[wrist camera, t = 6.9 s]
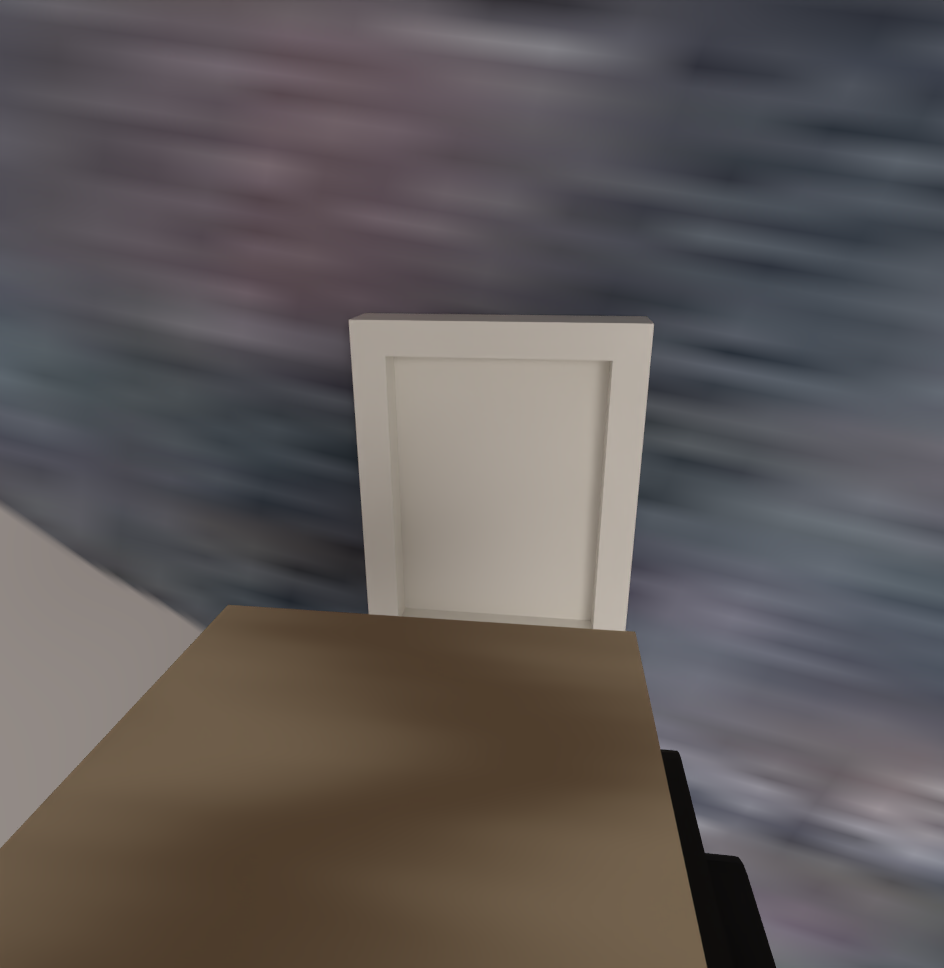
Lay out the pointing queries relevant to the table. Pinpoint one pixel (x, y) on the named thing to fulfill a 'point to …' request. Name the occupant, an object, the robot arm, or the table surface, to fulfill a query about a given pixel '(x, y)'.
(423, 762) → the oak cube
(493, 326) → the dish
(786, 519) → the table surface
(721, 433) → the table surface
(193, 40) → the table surface
